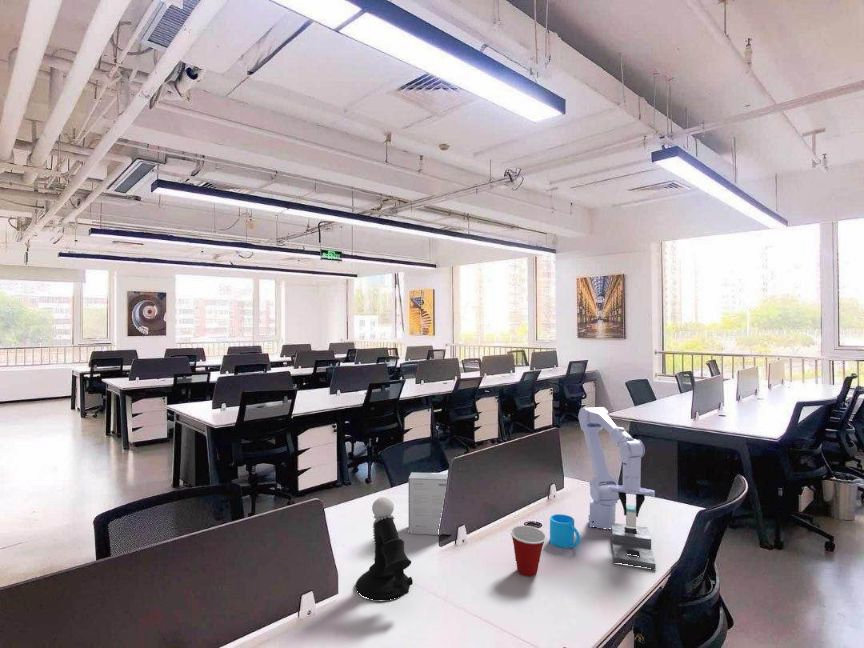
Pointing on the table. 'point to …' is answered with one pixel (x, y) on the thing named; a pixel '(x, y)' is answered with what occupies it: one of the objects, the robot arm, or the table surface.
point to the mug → (563, 531)
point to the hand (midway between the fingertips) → (630, 515)
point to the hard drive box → (426, 502)
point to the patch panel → (632, 545)
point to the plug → (630, 516)
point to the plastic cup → (527, 548)
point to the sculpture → (385, 558)
